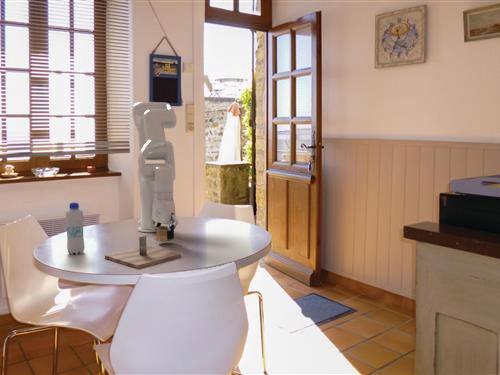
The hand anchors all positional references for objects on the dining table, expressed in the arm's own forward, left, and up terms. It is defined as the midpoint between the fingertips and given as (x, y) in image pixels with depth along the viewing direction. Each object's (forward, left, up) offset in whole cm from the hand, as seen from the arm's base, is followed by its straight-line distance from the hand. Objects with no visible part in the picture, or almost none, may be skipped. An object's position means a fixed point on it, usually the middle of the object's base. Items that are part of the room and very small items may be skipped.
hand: (164, 237), depth 203 cm
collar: (0, 0, -1) cm, 1 cm away
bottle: (-14, -32, -3) cm, 36 cm away
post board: (+11, -19, -3) cm, 22 cm away
